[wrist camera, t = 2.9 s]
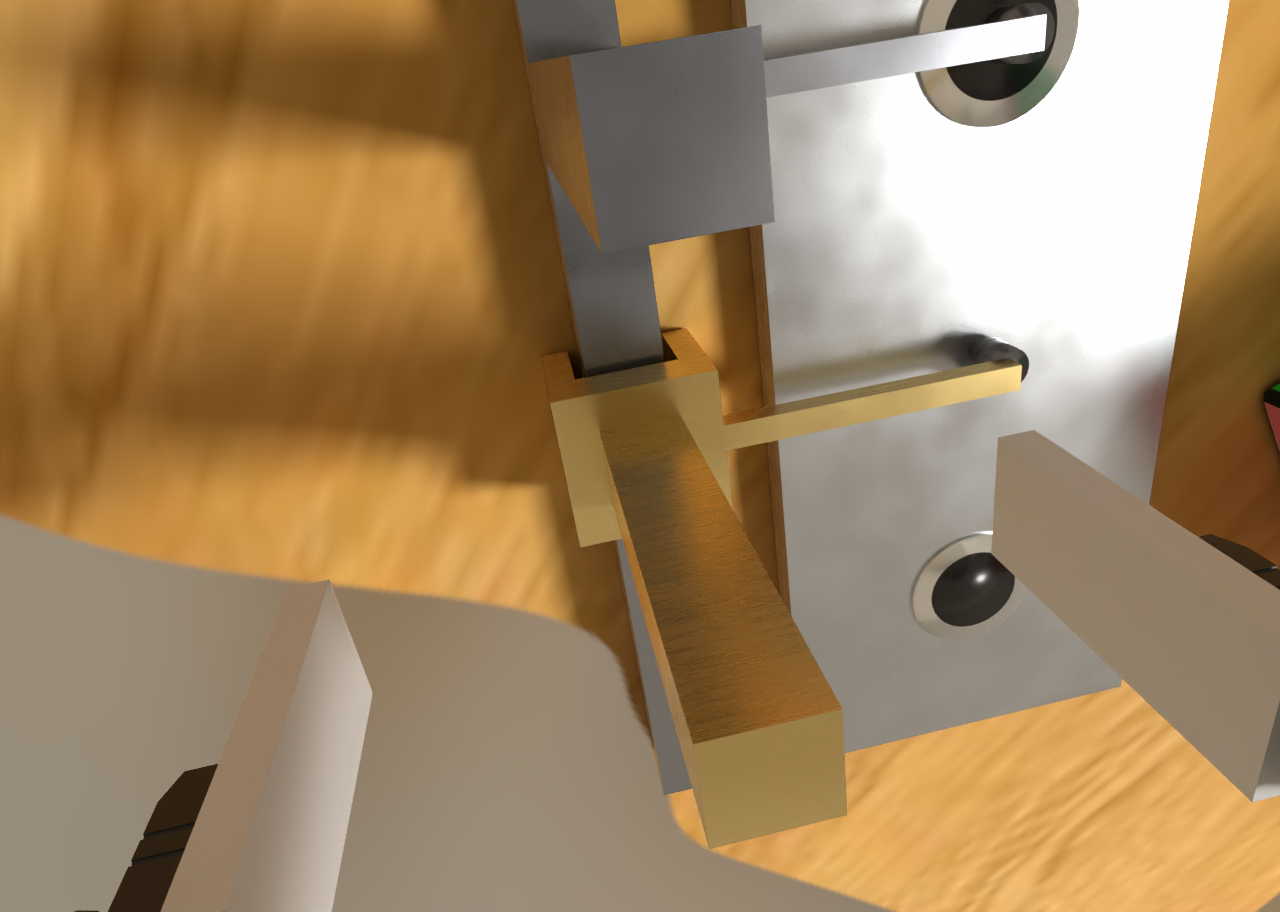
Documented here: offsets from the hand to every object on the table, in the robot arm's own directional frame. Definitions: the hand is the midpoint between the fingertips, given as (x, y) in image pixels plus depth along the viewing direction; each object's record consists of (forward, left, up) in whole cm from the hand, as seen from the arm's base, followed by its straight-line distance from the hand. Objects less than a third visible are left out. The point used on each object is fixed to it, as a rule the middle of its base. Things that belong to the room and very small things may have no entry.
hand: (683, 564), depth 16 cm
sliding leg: (0, +4, -8) cm, 9 cm away
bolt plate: (0, +10, -8) cm, 13 cm away
